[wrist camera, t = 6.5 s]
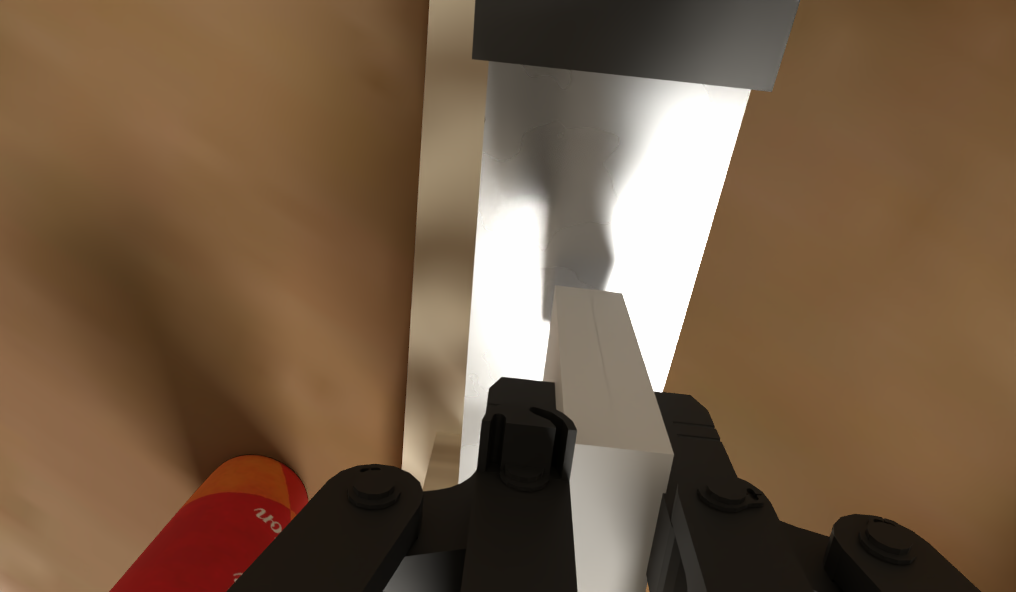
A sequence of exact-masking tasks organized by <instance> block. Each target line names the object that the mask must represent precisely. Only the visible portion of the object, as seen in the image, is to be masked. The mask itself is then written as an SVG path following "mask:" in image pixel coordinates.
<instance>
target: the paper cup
mask: <svg viewBox="0 0 1016 592" xmlns="http://www.w3.org/2000/svg"><path fill="white" fill-rule="evenodd" d="M307 503H308V497H307V492H306V489H305V487H304V485H303V483H302V481H301V480H300V479H299V477H298V476H297V475H296V474H295V473H294V472H293V471H292V470H291V469H290V468H289V467H287V466H286V465H284V464H283V463H281V462H279V461H277V460H275V459H272V458H269V457H265V456H260V455H243V456H238V457H235V458H232V459H230V460H228V461H226V462H224V463H223V464H222V465H220V466H219V467H218V468H217V469H216V470H215V471H214V472H213V473H212V474H211V475H210V476H209V477H208V478H207V479H206V480H205V482H204V483H203V484H202V485H201V486H200V487H199V488H198V489H197V490H196V492H195V493H194V494H193V495H192V496H191V497H190V498H189V500H188V501H187V502H186V503H185V504H184V505H183V506H182V508H181V509H180V510H179V511H178V512H177V513H176V515H175V516H174V517H173V518H172V519H171V520H170V521H169V523H168V524H167V525H166V526H165V527H164V528H163V530H162V531H161V532H160V533H159V534H158V535H157V537H156V538H155V539H154V540H153V541H152V542H151V544H150V545H149V546H148V547H147V548H146V549H145V551H144V552H143V553H142V554H141V555H140V556H139V558H138V559H137V560H136V561H135V562H134V563H133V565H132V566H131V567H130V568H129V569H128V570H127V572H126V573H125V574H124V575H123V576H122V577H121V579H120V580H119V581H118V582H117V583H116V584H115V586H114V587H113V588H112V589H111V590H110V591H109V592H226V591H227V590H228V589H229V588H230V587H231V586H232V585H233V584H234V582H235V581H236V580H237V579H238V578H239V577H240V576H241V575H242V574H243V573H244V572H245V571H246V569H247V568H248V567H249V566H250V565H251V564H252V563H253V562H254V561H255V560H256V559H257V557H258V556H259V555H260V554H261V553H262V552H263V551H264V550H265V549H266V548H267V547H268V546H269V544H270V543H271V542H272V541H273V540H274V539H275V538H276V537H277V536H278V535H279V534H280V532H281V531H282V530H283V529H284V528H285V527H286V526H287V525H288V524H289V523H290V522H291V520H292V519H293V518H294V517H295V516H296V515H297V514H298V513H299V512H300V511H301V510H302V509H303V507H304V506H305V505H306V504H307Z"/></svg>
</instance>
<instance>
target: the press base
mask: <svg viewBox="0 0 1016 592" xmlns="http://www.w3.org/2000/svg"><path fill="white" fill-rule="evenodd" d="M474 13H475V0H430V2H429V19H428V36H427V53H426V70H425V87H424V103H423V120H422V137H421V154H420V171H419V188H418V205H417V221H416V238H415V255H414V272H413V289H412V306H411V322H410V339H409V356H408V373H407V390H406V407H405V424H404V440H403V457H402V470H404V471H407V472H409V473H411V474H412V475H413V476H414V477H415V478H416V479H417V480H418V481H419V482H420V484H421V486H422V489H423V491H431V490H438V489H444V488H449V487H452V486H455V485H457V484H458V481H459V467H460V453H461V439H462V425H463V412H464V398H465V384H466V370H467V356H468V342H469V328H470V315H471V301H472V287H473V273H474V259H475V245H476V232H477V218H478V204H479V190H480V176H481V162H482V149H483V135H484V121H485V107H486V93H487V79H488V66H489V61H484V60H474V59H472V47H473V30H474Z"/></svg>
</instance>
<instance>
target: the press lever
mask: <svg viewBox="0 0 1016 592" xmlns="http://www.w3.org/2000/svg"><path fill="white" fill-rule="evenodd" d="M799 2H800V0H475V13H474V30H473V47H472V59H474V60H484V61H489V66H488V79H487V93H486V107H485V121H484V135H483V149H482V162H481V176H480V190H479V204H478V218H477V232H476V245H475V259H474V273H473V287H472V301H471V315H470V328H469V342H468V356H467V370H466V384H465V398H464V412H463V425H462V439H461V453H460V467H459V481H458V484H460V483H462V482H464V481H465V480H467V479H468V478H470V477H471V476H472V475H473V473H474V472H475V471H476V469H477V462H478V452H479V442H480V432H481V422H482V419H483V417H484V415H485V413H486V406H487V399H488V392H489V388H490V387H491V386H492V385H493V384H494V383H495V382H496V381H498V380H499V379H500V378H501V377H510V378H519V379H528V380H537V381H543V375H544V367H545V359H546V352H547V344H548V337H549V329H550V322H551V314H552V306H553V299H554V291H555V285H556V286H565V287H574V288H584V289H593V290H602V291H611V292H620V293H623V296H624V299H625V303H626V306H627V309H628V312H629V315H630V318H631V321H632V324H633V328H634V331H635V334H636V337H637V340H638V343H639V346H640V350H641V353H642V356H643V359H644V362H645V365H646V368H647V371H648V375H649V378H650V381H651V384H652V387H653V390H654V391H656V392H663V388H664V385H665V382H666V378H667V375H668V371H669V368H670V364H671V361H672V358H673V354H674V351H675V347H676V344H677V340H678V337H679V334H680V330H681V327H682V323H683V320H684V317H685V313H686V310H687V306H688V303H689V299H690V296H691V293H692V289H693V286H694V282H695V279H696V275H697V272H698V269H699V265H700V262H701V258H702V255H703V251H704V248H705V245H706V241H707V238H708V234H709V231H710V228H711V224H712V221H713V217H714V214H715V210H716V207H717V204H718V200H719V197H720V193H721V190H722V186H723V183H724V180H725V176H726V173H727V169H728V166H729V163H730V159H731V156H732V152H733V149H734V145H735V142H736V139H737V135H738V132H739V128H740V125H741V121H742V118H743V115H744V111H745V108H746V104H747V101H748V98H749V94H750V91H751V89H752V90H761V91H770V92H772V89H773V86H774V83H775V80H776V76H777V73H778V70H779V67H780V64H781V60H782V57H783V54H784V51H785V47H786V44H787V41H788V38H789V35H790V31H791V28H792V25H793V22H794V18H795V15H796V12H797V9H798V6H799Z"/></svg>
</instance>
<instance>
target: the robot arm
mask: <svg viewBox="0 0 1016 592" xmlns="http://www.w3.org/2000/svg"><path fill="white" fill-rule="evenodd" d="M647 581H648V586H649V591H650V592H981V591H980V590H979V589H978V588H977V587H976V586H974V585H973V584H972V583H971V582H970V581H969V580H968V579H967V578H966V577H965V576H964V575H963V574H962V573H960V572H959V571H958V570H957V569H956V568H955V567H954V566H953V565H952V564H951V563H950V562H949V561H947V560H946V559H945V558H944V557H943V556H942V555H941V554H940V553H939V552H938V551H937V550H936V549H935V548H933V547H932V546H931V545H930V544H929V543H928V542H926V541H925V540H924V539H922V538H921V537H920V536H918V535H917V534H916V533H914V532H913V531H911V530H909V529H907V528H905V527H903V526H901V525H899V524H898V523H896V522H894V521H891V520H889V519H886V518H885V519H883V518H882V517H878V516H872V515H860V514H853V515H848V516H844V517H841V518H840V519H839V520H838V521H837V522H836V523H835V524H834V525H833V528H832V532H831V535H830V537H828V536H824V535H821V534H818V533H815V532H811V531H808V530H805V529H802V528H798V527H795V526H793V525H790V524H787V523H785V522H782V521H780V520H779V518H778V516H777V514H776V512H775V510H774V508H773V506H772V504H771V502H770V501H769V500H768V499H767V497H766V496H765V495H764V493H763V492H762V491H760V490H759V489H758V488H756V487H755V486H753V485H752V484H750V483H749V482H747V481H745V480H742V479H740V478H738V477H737V475H736V473H735V471H734V469H733V466H732V464H731V462H730V460H729V457H728V455H727V453H726V451H725V448H724V446H723V444H722V442H720V437H719V435H718V433H717V430H716V429H714V423H713V421H712V419H711V417H710V414H709V412H708V410H707V409H706V408H705V407H703V406H702V405H701V404H700V403H699V402H698V401H696V400H695V399H694V398H693V397H692V396H691V395H684V394H675V393H666V392H656V391H654V390H653V387H652V384H651V381H650V378H649V375H648V371H647V368H646V365H645V362H644V359H643V356H642V353H641V350H640V346H639V343H638V340H637V337H636V334H635V331H634V328H633V324H632V321H631V318H630V315H629V312H628V309H627V306H626V303H625V299H624V296H623V293H620V292H611V291H602V290H593V289H584V288H574V287H565V286H556V285H555V291H554V299H553V306H552V314H551V322H550V329H549V337H548V344H547V352H546V359H545V367H544V375H543V381H537V380H528V379H519V378H510V377H501V378H500V379H499V380H498V381H496V382H495V383H494V384H493V385H492V386H491V387H490V388H489V392H488V399H487V406H486V413H485V415H484V417H483V419H482V422H481V432H480V442H479V452H478V462H477V469H476V471H475V472H474V473H473V475H472V476H471V477H470V478H468V479H467V480H465V481H464V482H462V483H460V484H457V485H455V486H452V487H449V488H444V489H438V490H431V491H423V489H422V486H421V484H420V482H419V481H418V480H417V479H416V478H415V477H414V476H413V475H412V474H411V473H409V472H407V471H404V470H402V469H399V468H397V467H394V466H388V465H380V464H370V465H359V466H355V467H352V468H349V469H346V470H343V471H341V472H339V473H338V474H336V475H335V476H334V477H332V478H331V479H330V480H328V481H327V482H326V484H325V485H324V486H323V487H322V488H321V489H320V490H319V491H318V492H317V493H316V494H315V495H314V497H313V498H312V499H311V500H310V501H309V502H308V503H307V504H306V505H305V506H304V507H303V509H302V510H301V511H300V512H299V513H298V514H297V515H296V516H295V517H294V518H293V519H292V520H291V522H290V523H289V524H288V525H287V526H286V527H285V528H284V529H283V530H282V531H281V532H280V534H279V535H278V536H277V537H276V538H275V539H274V540H273V541H272V542H271V543H270V544H269V546H268V547H267V548H266V549H265V550H264V551H263V552H262V553H261V554H260V555H259V556H258V557H257V559H256V560H255V561H254V562H253V563H252V564H251V565H250V566H249V567H248V568H247V569H246V571H245V572H244V573H243V574H242V575H241V576H240V577H239V578H238V579H237V580H236V581H235V582H234V584H233V585H232V586H231V587H230V588H229V589H228V590H227V591H226V592H645V591H646V586H647Z"/></svg>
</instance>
